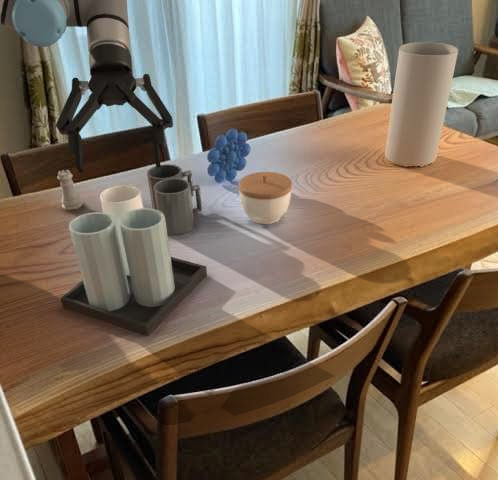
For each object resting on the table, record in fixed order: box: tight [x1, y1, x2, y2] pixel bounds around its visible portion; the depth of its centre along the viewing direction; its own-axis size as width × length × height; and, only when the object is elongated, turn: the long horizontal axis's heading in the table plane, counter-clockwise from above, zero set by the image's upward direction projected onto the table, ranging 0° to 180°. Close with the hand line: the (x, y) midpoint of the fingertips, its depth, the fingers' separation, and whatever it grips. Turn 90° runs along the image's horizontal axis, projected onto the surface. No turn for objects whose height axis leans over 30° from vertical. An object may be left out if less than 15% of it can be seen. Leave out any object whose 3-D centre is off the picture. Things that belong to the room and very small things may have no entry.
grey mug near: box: [153, 178, 203, 236], centre depth 108 cm, size 10×7×9 cm
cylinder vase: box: [384, 41, 459, 168], centre depth 126 cm, size 12×12×25 cm
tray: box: [59, 256, 208, 337], centre depth 93 cm, size 17×18×2 cm
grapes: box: [206, 128, 251, 184], centre depth 124 cm, size 12×7×12 cm, turn 124°
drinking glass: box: [99, 184, 145, 276], centre depth 93 cm, size 7×7×15 cm
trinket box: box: [238, 171, 293, 225], centre depth 110 cm, size 11×11×9 cm
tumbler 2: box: [119, 207, 175, 307], centre depth 87 cm, size 7×7×15 cm
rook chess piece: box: [56, 169, 83, 212], centre depth 116 cm, size 4×4×8 cm
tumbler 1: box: [68, 211, 131, 311], centre depth 87 cm, size 7×7×15 cm
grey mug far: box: [146, 164, 195, 210], centre depth 114 cm, size 10×7×9 cm
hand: (119, 167), depth 95 cm, fingers open, 13 cm apart
